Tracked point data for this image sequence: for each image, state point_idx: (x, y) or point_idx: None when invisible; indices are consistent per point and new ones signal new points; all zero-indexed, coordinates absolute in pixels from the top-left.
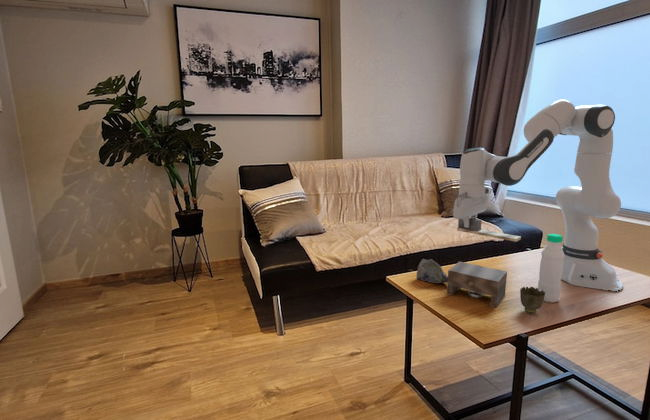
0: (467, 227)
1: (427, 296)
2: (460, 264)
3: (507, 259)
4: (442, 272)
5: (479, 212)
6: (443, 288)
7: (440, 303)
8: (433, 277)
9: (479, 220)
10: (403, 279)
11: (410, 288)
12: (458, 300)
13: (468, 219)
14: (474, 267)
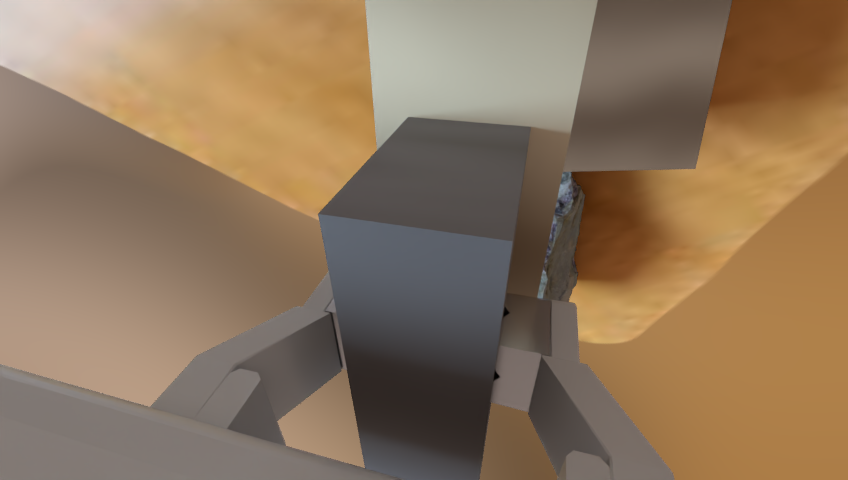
0: (571, 310)
1: (748, 175)
2: None
3: (70, 65)
4: (564, 207)
5: (88, 407)
6: None
7: (820, 86)
8: (579, 227)
9: (415, 239)
10: (600, 315)
11: (686, 265)
12: None
13: (632, 461)
14: None
